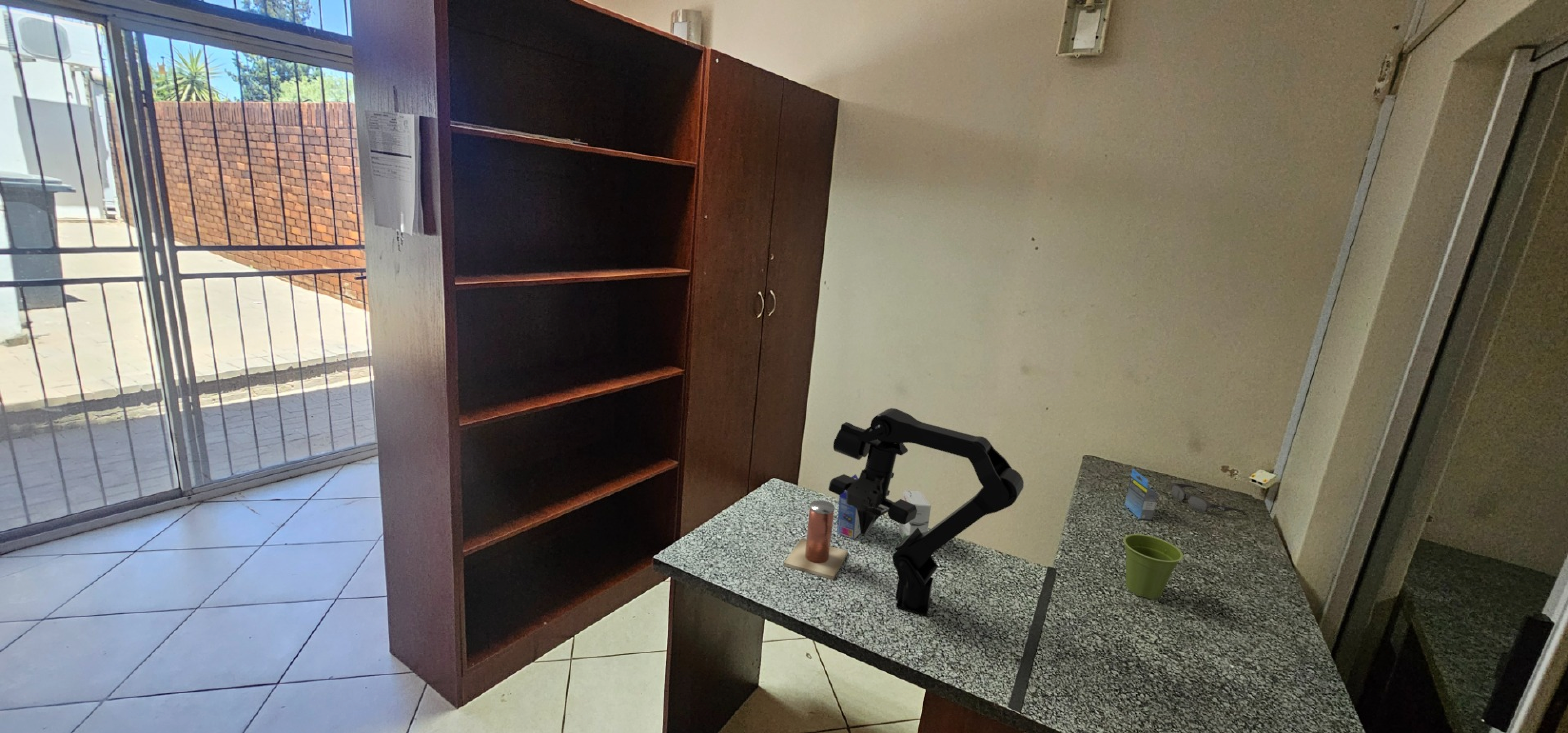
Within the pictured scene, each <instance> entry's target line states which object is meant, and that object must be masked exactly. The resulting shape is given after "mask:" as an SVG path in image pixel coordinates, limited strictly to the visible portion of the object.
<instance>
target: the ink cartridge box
mask: <svg viewBox="0 0 1568 733" xmlns="http://www.w3.org/2000/svg"><path fill="white" fill-rule="evenodd" d="M851 477H852V478H854V479H856V480H858V479H859V477H858V476H857V474H856V473H855V474H854V475H852V476H851ZM846 500H847V491H846V490H845V491H844V493H842V494H840V495H838V510H837V511H838V513H837V526H836V533H837V534H839V535H841V536H844V537H847V538H849V539H851V540H854V539H856V538H857V537H858V536H859V535H860V534H861V531H860V524H859V517H858V512H857V509H856V508H855V507H854V506H852V505H851V506H850V505H848V504H847V503H846Z"/></svg>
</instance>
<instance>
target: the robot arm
mask: <svg viewBox="0 0 1568 733" xmlns="http://www.w3.org/2000/svg"><path fill="white" fill-rule="evenodd" d="M870 422H871V423H870V426H869V427H867V428H865V429H864V428H862V427H858V426H856V425H854V424H852V423H850V422H847V421H845V422H844V423H841V426H840V429H839V430H838V432H837V434H836V437H835V438H834V440H833V446H832V447H833V451H834V452H836V453H839V454H842V455H844V456H848V457H849V458H852V459H855V460H858V461H860V460H862V458H866V457H867V459H866V462H865V467H864V469H861V472H860V475H859V477H858V478H859V479H858V480H856V478H852V476H849V475H847V474H845V473H843V474H841V475H838V476H835V477H834V478H832V479H831V480H830V481H829V485H828V491H829V492H832V493H834V494H836V495H838V496H839V495H840V494H842V493H844V491H845V490H846V491H847V500H846V503H847V504H848V505H850V506H851V505H852V506H854V507H855V508H856V509H857V512H858V517H859V524H860V531H861V533H860V534H861V535H863V536H866V535H867V534H868V532H869V531H870V530H871V528H872V527H873V526H874V524H875V523H876V522H877V520H878V519H879V518H880V517H881V516H883V515H885V514H887V515H888V518H889V519H890V520H892V521H894V522H896V523H898V524H899V523H900V524H906V523H908V522H910V521H911V520H913V519H914V518H915V517H916V513H917V509H916V506H915V505H913V504H911V503H909V502H907V501H904V500H902V499H903V498H900V499H899V500H896V501H893V500H891V499H889V498H887V497H889V495H890V492H891V491H890V490H889V487H890V483H891V480H892V479H893V478H894V475H895V472H894V467H895V462H896V458H897V455H898V456H903V455H904V454H907V453H908V451H909V449H908V448H907V447H906V445H905V443H906V444H907V443H908V444H909V443H910V444H916V445H920V446H923V447H926V448H930V449H934V450H938V451H941V452H943V453H947V454H950V455H951V454H952V455H954V456H955V455H956V456H959V457H962V458H966V459H968V460H969V462H970V463H971V465H972V467H973V469H974V470H973V471H975V474H976V476H977V479H978V481H979V483H980V484H981V485H982V487H981V489H979V491H977V493H976V494H975V495H974V496H972V498H970V499H969V500H968V501H966V502H964V503H963V504H962V505H961V506H959V507H958V508H956V510H954V511H952V512H951V513H950V514H949V515H947V516H946V517H945V518H944V519H942V520H941V521H939V522H938V523H937V524H935V525H934V526H933V527H931V529H928V531H927V532H923V533H921V531H920V530H919V528H917V529H916V530H915V531H914V532H913V533H912V534H911V535H907V536H906V537H905V538H904V539H902V540H900V542H899V543H898V544H897V545H896V546H895V547H894V550H895V552H894V553H893V555H892V557H891V558H892V563H893V566H894V568H895V569H896V573H897V578H898V581H897V585H896V592H895V600H896V604H895V608H897V609H900V610H903V611H904V610H905V611H908V612H911V613H914V614H918V615H922V616H928V613H929V609H930V604H931V601H932V597H931V596H932V595H931V594H932V588H933V581H934V580H933V579H934V578H933V577H932V576H933V575H934V574H935V572H936V571H937V569H938V567H939V566H938V563H937V562H936V560H934V558H933V556H932V555H934V553H935V552H936V551H937V550H939V549H940V548H942V547H943V546H945V545H946V544H947V543H948V542H950V541H951V540H953V539H954V538H955V537H957V536H958V535H959V534H961V533H962V532H964V531H966V530H967V529H968V528H969V527H970V526H972V525H973V524H975V523H976V522H978V521H979V520H980V519H982V518H983V517H985V516H988V515H992V514H995V513H997V512H1000V511H1002V510H1004V509H1007V508H1009V507H1011V506H1013V504H1014V503H1016V501H1017V499H1018V497H1019V496H1020V494H1021V492H1022V491H1023V489H1024V479H1023V477H1022V475H1021V474H1020V473H1019V471H1017V470H1015V469H1013V468H1012V466H1011V465H1010V463H1009V462H1008V461H1007V459H1006V458H1005V457H1004V456H1003V455H1002V454H1000V453H999V452H998V451H997V450H996V449H995V448H994V446H993V445H992V444H991V441H989V440H988V438H986V437H984V436H976V435H972V434H968V433H964V432H960V431H956V430H953V429H949V428H945V427H941V426H936V425H933V424H930V423H927V422H922V421H920V420H918V419H916V418H915V417H913V416H912V415H911V414H909V413H907V412H905V411H902V410H900V409H898V408H893V407H890V408H887V409H885V410H884V411H882V412H880V413H877V415H874V417H873V418H872V419H871V421H870Z"/></svg>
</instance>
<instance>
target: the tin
mask: <svg viewBox="0 0 1568 733" xmlns="http://www.w3.org/2000/svg"><path fill="white" fill-rule="evenodd" d="M834 513H835V505H834V504H833V503H831V502H830V501H826V500H813V501H811V502H810V503H809V514H808V523H807V530H806V531H807V532H806V533H807V534H806V540H807V541H806V551H805V557H806V559H807V560H809V561H811V562H814V563H824V562H826V561H828V559H829V551H830V546H831V541H832V531H833V522H834V516H835V515H834Z"/></svg>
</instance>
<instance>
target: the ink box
mask: <svg viewBox="0 0 1568 733" xmlns="http://www.w3.org/2000/svg"><path fill="white" fill-rule="evenodd" d="M901 499H902V500H904V501H907V502H909V503H911V504H913V505H915V506H916V509H917V513H916V517H915V518H914V519H913V520H911V521H910V522H908V523H906V524H900V523H898V529H897V530H898V534H899V535H900V537H901V539H902V540H903V539H904V538H905V537H906V536H907V535H911V534H912V533H913V532H914V531H915V530H916V529H917V528H919V530H920V531H921V533H923V532H927V531H929V523H930V515H931V509H932V508H931V507H932V505H931V504H930V502H929V501H928V500H927V498H926V497H925V495H924V494H923V492H922V491H918V490H903V493H902V498H901Z"/></svg>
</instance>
